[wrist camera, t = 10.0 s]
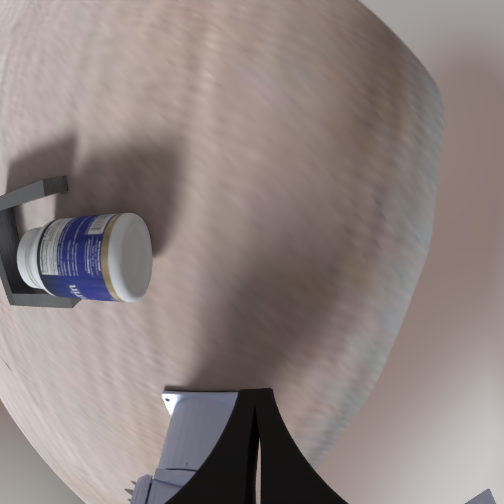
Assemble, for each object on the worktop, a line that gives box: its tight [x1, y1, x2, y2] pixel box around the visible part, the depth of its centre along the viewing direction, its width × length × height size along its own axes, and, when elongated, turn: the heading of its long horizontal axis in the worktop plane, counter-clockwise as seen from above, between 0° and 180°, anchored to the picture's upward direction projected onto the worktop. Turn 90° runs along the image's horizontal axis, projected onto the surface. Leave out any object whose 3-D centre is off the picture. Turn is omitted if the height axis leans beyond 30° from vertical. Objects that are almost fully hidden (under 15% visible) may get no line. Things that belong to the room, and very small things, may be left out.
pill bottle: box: [17, 213, 152, 302], centre depth 16 cm, size 6×6×10 cm
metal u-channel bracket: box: [0, 176, 82, 308], centre depth 18 cm, size 10×9×3 cm
